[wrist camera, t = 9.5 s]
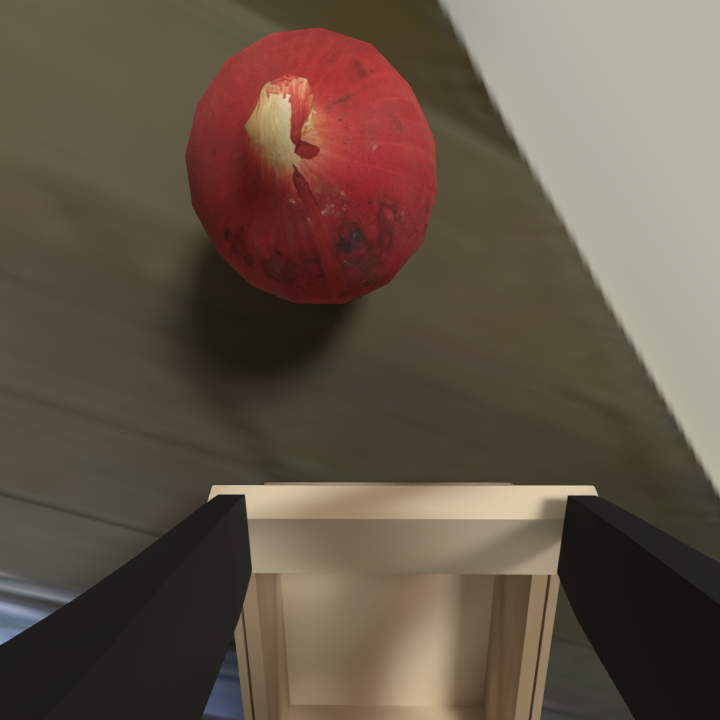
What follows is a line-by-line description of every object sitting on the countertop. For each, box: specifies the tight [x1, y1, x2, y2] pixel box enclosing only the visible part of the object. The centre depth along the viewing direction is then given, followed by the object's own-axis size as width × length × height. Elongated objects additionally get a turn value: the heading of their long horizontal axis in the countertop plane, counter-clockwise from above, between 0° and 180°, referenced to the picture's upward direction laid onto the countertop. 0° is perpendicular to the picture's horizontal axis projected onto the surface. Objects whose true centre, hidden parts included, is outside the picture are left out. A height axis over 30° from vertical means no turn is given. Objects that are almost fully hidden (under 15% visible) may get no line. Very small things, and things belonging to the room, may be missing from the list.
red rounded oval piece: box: [185, 28, 437, 304], centre depth 9 cm, size 6×6×8 cm
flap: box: [208, 485, 599, 575], centre depth 10 cm, size 9×4×1 cm
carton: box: [234, 482, 560, 720], centre depth 16 cm, size 11×12×4 cm
